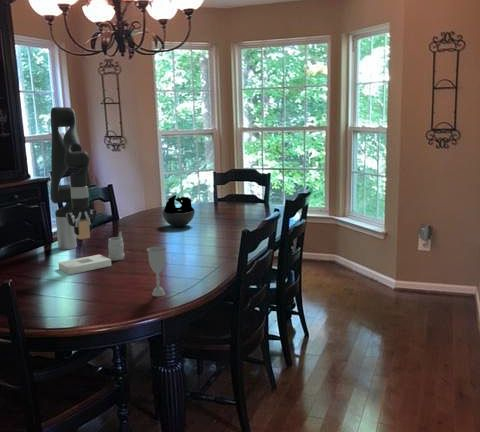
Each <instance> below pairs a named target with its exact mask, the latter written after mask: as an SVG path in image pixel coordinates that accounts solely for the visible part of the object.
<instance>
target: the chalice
mask: <svg viewBox="0 0 480 432" xmlns="http://www.w3.org/2000/svg"><path fill="white" fill-rule="evenodd" d="M166 249H167V247H164V246H152V247H148V248H146V251H147V255H148V257H147V258H148V263H149V266H150V268H151V269H152V271H153V272H154V273H155V274H156V275H155V279H156V281H155V283H156V287H155V288H154V289H153V291H152V293H151V296H153V297H162V296H163V297H164V296H165V295H166V292H165V290H164V289H163V287H161V286H160V283H161V281H160V278H161V276H160V273H161V272H162V270H163V268H164V266H165V263H166Z"/></svg>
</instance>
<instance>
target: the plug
mask: <svg viewBox="0 0 480 432" xmlns="http://www.w3.org/2000/svg"><path fill="white" fill-rule="evenodd" d="M78 229H79V235H76V239H78V240H85V239H90V238H91V232H90V229H89V220H87V219H80V220H79V222H78Z"/></svg>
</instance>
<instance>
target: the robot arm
mask: <svg viewBox="0 0 480 432" xmlns="http://www.w3.org/2000/svg"><path fill="white" fill-rule="evenodd" d="M59 128H68V129H67V130H66V132H65V134H64V135H63V136H62V134H61V133H60V130H59ZM50 129H51V133H50V134H51V149H50V150H51V153H50V155H51V156H50V159H51V160H50V163H51V180H50V194H49V195H50V200H51V202H52V203H53V204H64V205H63V206H62V207H60V208H58V209H56V210H55V213H54V214H55V223H56V225H55V227H56V236H57V247H58V248H57V249H58V250H65V251H67V250H72V249H76V248H77V238H76V235H79V229H78V222H79V220H80V219H87V220H89V229H90V233H91V232H92V231H91V230H92V228H91V227H92V226H91V225H92V224H94V223H95V221H96V216H97V210H96V209H91V207H90V199H89V198H90V196H89V195H90V194H89V188H88V179H87V177H88V168H89V166H90V159H91V157H90V154H89V153H88V152H87V151H85V150H83V146H82V144H81V140H80V137H79V131H78V122H77V114H76V112H75V110H74V108H73V107H69V106H68V107H67V106H66V107H63V106H62V107H61V106H59V107H58V106H54V107H52V108H51V110H50ZM69 168H70V169H73V168H75V169H76V168H80V170H79V171H77V172H74V173H70V176H69V179H70V180H69V181H70V184H60V182H61V180H62V178H63V177H64V175H65V173H66V172H67V171H68V169H69ZM89 214H90V217H89Z"/></svg>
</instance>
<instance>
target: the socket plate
mask: <svg viewBox="0 0 480 432" xmlns="http://www.w3.org/2000/svg"><path fill="white" fill-rule="evenodd" d="M57 265H58V269H59V270H60V271H62V272H64V273H65V274H67V275H74V274H80V273H85V272H90V271H94V270H98V269H103V268H108V267H112V260H111V259H109V257H108V256H104V255H102V254H95V255H90V256H84V257H79V258H75V259H69V260H65V261H59V262H58V264H57Z"/></svg>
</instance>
